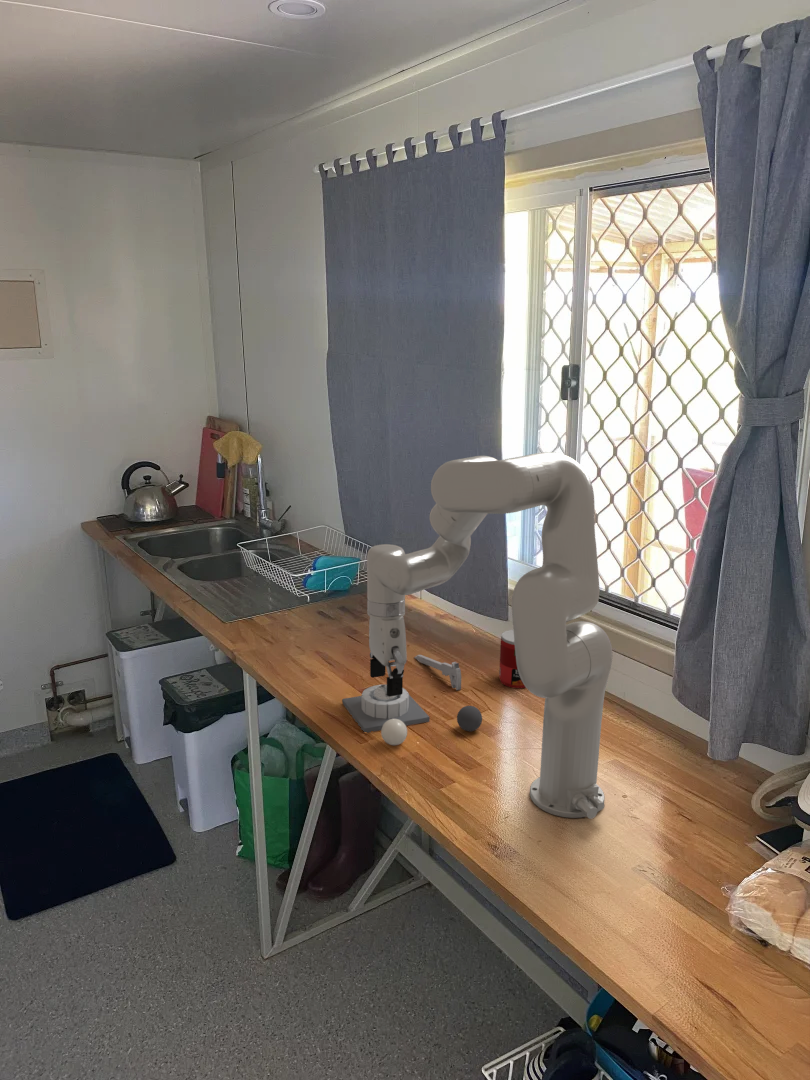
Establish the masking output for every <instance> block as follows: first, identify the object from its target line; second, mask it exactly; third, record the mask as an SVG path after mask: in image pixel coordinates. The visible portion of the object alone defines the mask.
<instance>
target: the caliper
mask: <svg viewBox="0 0 810 1080" xmlns="http://www.w3.org/2000/svg"><path fill="white" fill-rule="evenodd" d="M413 658H414V659H416V660H417V661H418V662H419V663H421V664H423V665H426V666H428V667H431V668H434V669H435V670H438V671H441V674H442V675H443V676H445V677H446V676H449V680H450V685H451V688H452V689H455V691H461V690H462V672H461V668H460V665H459V662H457V661H453V662H451V664H450V663H448V662H440V661H437V660H435V659H433V658H430V657H428V656H425V655H422V654H417V655H416V656H414V657H413Z"/></svg>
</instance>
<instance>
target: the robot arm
mask: <svg viewBox="0 0 810 1080" xmlns="http://www.w3.org/2000/svg"><path fill="white" fill-rule="evenodd" d="M430 493H431V496H432V499H433V501H434V502H435V504H434V506H433V507H432V508H431V510H430V513H429V522H430V525H431V527H432V529H433V530H434V531H435V533H436V534H437V535H439V536H438V537H437V539H436V541H434V543H433V544H432V545H431V546H430V547H428V548H424V549H420V550H416V551H412V552H409V553H406V552H405V550H404V548H403V547H401V546H398V545H396V544H389V543H386V544H384V543H383V544H376V545H373V546H371V547H370V548H369V550H368V551H367V555H366V561H367V565H366V566H367V568H366V571H367V572H366V577H367V579H366V580H367V583H366V584H367V586H366V587H367V589H366V592H367V594H366V595H367V602H366V603H367V610H366V611H367V612H366V613H367V615H368V617H369V625H368V626H369V628H368V647H369V651H370V652H369V658H370V660H369V666H370V667H369V675H370V678H379V677H385V676H386V671H387V677H386V684H387V696H388V697H390V696H396V695H401V694H402V693H403V688H404V685H403V681H404V680H403V679H404V672H405V669H404V668H405V664H406V663H407V661H408V660H407V655H408V654H407V638H406V637H407V636H406V635H407V634H406V624H405V619H404V616H405V614H406V596H408V595H413V594H415V593H418V592H423V591H424V590H428V589H431V588H433V587H437V586H441V585H443V584H444V583H446V582H448V581H449V580H450V579H452V577H453V576H454V575H455V574H456V573H457V572H458V570H459V569H460V568H461V567H462V565H463V564H464V563H465V561H466V560H467V558H468V557H469V554H470V551H471V546H472V545H471V543H472V538H471V537H472V535H473V534H474V532H475V531H476V529H477V528H478V527H479V525H480V524H481V523H482V522H483V520H484V519H485V518H486V516H488V515H490V514H491V515H493V514H494V515H495V514H496V515H497V514H498V515H504V514H506V515H507V514H512V513H518V512H522V511H526V510H528V509H533V508H536V507H540V506H545V507H546V509H547V510H546V514H545V517H544V520H543V524H542V529H541V546H542V547H541V548H542V565H541V566H540V567H537V568H534V569H532V570H529V571H527V572H526V573H525V574H523V575H522V576H521V577H520V578H519V579H518V580H517V582H516V584H515V586H514V589H513V591H512V595H511V618H512V620H511V621H512V630H513V631H514V642H515V653H516V662H517V668H518V672H519V675H520V678H521V680H522V682H523V684H524V685H525V687H526V688H525V689H526V690H528V691H529V692H530V693H531V694H532V695H534V696H536V697H539V698H543V699H544V709H543V718H542V719H543V721H542V724H543V725H542V735H541V736H542V738H541V739H542V740H541V757H540V769H539V770H540V772H539V777H537V778H536V779H535V780H533V782H532V783H531V784H530V787H529V797H530V799H531V800H532V801H531V802H533V804H534V805H535V806H537V807H538V808H539V809H540V810H542V811H544V812H546V813H548V814H550V815H553V816H556V817H561V818H568V819H579V818H580V819H581V818H588V819H591V820H592V819H594V818H595V817H596V816H597V815H598V813H599V812H600V811H602V810H604V808H605V799H606V798H605V792H604V790H603V789H602V788H601V786H599V785H598V784H597V781H598V769H599V759H600V757H599V756H600V743H601V731H602V720H603V709H604V699H605V695H606V694H605V693H606V689H607V684H608V680H609V677H610V672H611V668H612V663H613V647H612V646H613V645H612V643H611V639H610V638H609V635H608V633H606V631H605V630H604V629H603V628H602V627H600V626H599V625H597V624H595V623H593V622H590V621H583V620H582V621H581V620H580V621H574V622H570V621H573V620H575V619H577V618H580V617H582V616H584V615H586V614H588V613H589V612H591V611H592V610H593V609H594V608H595V607H597V604H598V603H599V600H600V599H599V598H600V578H599V577H600V576H599V563H598V552H597V541H596V540H597V539H596V530H595V528H596V527H595V526H596V525H595V511H596V510H595V493H594V488H593V484H592V481H591V478H590V476H589V475H588V472H587V471H586V470H585V468H584V467H583V465H581V464H580V463H579V462H578V461H576V460H575V459H574V458H573V457H570V456H568V455H565V454H563V453H560V452H551V451H550V452H547V451H545V452H544V451H543V452H536V453H532V454H531V453H529V454H526V455H522V456H516V457H511V458H504V459H499V460H498V459H496V458H495V457H492V456H488V455H476V456H470V457H469V456H468V457H465V458H458V459H457V458H456V459H452V460H449V461H446V462H444V463H443V464H441V465H440V466H439V467H438V468H437V469H436V470H435V471H434V474H433V476H432V478H431V482H430ZM568 622H570V623H568ZM567 623H568V624H567ZM392 667H395V668H393V670H392Z"/></svg>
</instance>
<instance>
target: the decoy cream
mask: <svg viewBox="0 0 810 1080" xmlns="http://www.w3.org/2000/svg"><path fill="white" fill-rule="evenodd" d="M380 736H381V738H382V740H383V741H384V742H385V743H386V744H387V745H390V746H398V745H401V744H403V742H405V741H406V739H407V736H408V728H407V726H406V725H405V724H404V723H403V722H402V721H401V720H399V719H390V720H388V721H386V722H385V723H384V724H383V726H382V729H381V730H380Z"/></svg>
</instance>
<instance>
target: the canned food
mask: <svg viewBox="0 0 810 1080" xmlns="http://www.w3.org/2000/svg"><path fill="white" fill-rule="evenodd" d="M499 648H500V651H499V654H500V655H499V671H498V673H499V675H498V677H499V680H500V683H501V684H502V685H503V686H505V687H508V688H512V689H527V688H526V687H525V685H524V684H523V682H522V680H521V678H520V675H519V672H518V668H517V662H516V653H515V642H514V631H513V629H509V630H505V631H503V632H502V633H501V635H500V647H499Z"/></svg>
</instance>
